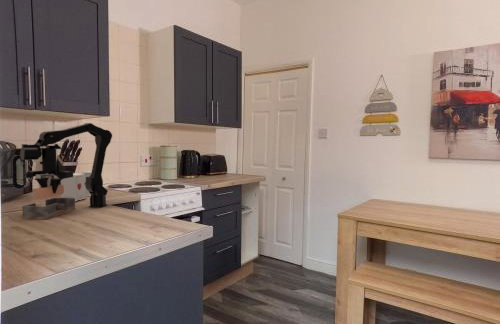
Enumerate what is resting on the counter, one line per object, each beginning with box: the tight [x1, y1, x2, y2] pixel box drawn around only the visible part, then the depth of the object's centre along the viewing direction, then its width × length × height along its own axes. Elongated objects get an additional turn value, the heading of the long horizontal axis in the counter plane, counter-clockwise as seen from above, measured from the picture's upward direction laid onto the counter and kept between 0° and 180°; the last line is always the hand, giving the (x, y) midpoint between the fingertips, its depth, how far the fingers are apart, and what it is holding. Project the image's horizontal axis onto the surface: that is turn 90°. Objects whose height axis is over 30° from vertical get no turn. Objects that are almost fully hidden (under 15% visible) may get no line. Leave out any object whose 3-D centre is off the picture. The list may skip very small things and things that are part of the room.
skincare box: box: [81, 170, 92, 196], centre depth 187 cm, size 8×6×15 cm
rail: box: [34, 184, 64, 199], centre depth 142 cm, size 14×4×4 cm, turn 178°
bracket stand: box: [21, 197, 76, 221], centre depth 142 cm, size 10×20×6 cm, turn 178°
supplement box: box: [60, 172, 86, 200], centre depth 172 cm, size 9×9×15 cm
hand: (50, 193), depth 142 cm, fingers closed on rail, 3 cm apart
